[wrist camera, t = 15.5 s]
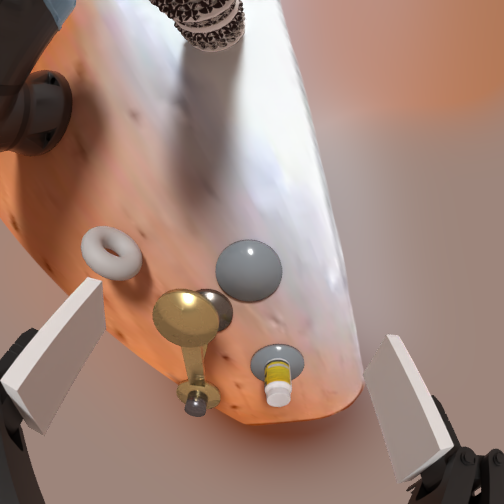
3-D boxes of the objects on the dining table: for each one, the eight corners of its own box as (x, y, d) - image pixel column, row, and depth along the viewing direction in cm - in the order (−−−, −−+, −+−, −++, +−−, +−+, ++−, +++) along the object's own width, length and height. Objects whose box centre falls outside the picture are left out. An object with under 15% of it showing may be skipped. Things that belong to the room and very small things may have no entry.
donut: (98, 230, 43) (65, 254, 33) (106, 214, 42) (72, 235, 32) (145, 265, 45) (120, 297, 35) (155, 250, 44) (130, 279, 34)
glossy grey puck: (215, 295, 46) (214, 297, 45) (217, 236, 42) (217, 238, 42) (277, 301, 46) (277, 303, 45) (285, 243, 42) (286, 245, 42)
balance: (188, 361, 52) (168, 428, 37) (184, 233, 42) (145, 287, 27) (229, 366, 52) (219, 437, 37) (238, 238, 42) (224, 297, 27)
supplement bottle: (261, 360, 50) (260, 394, 43) (286, 354, 50) (289, 389, 42) (268, 376, 52) (268, 410, 44) (292, 371, 51) (295, 405, 44)
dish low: (248, 378, 53) (248, 381, 53) (253, 341, 50) (253, 344, 49) (298, 381, 54) (298, 384, 53) (308, 345, 50) (309, 348, 49)
